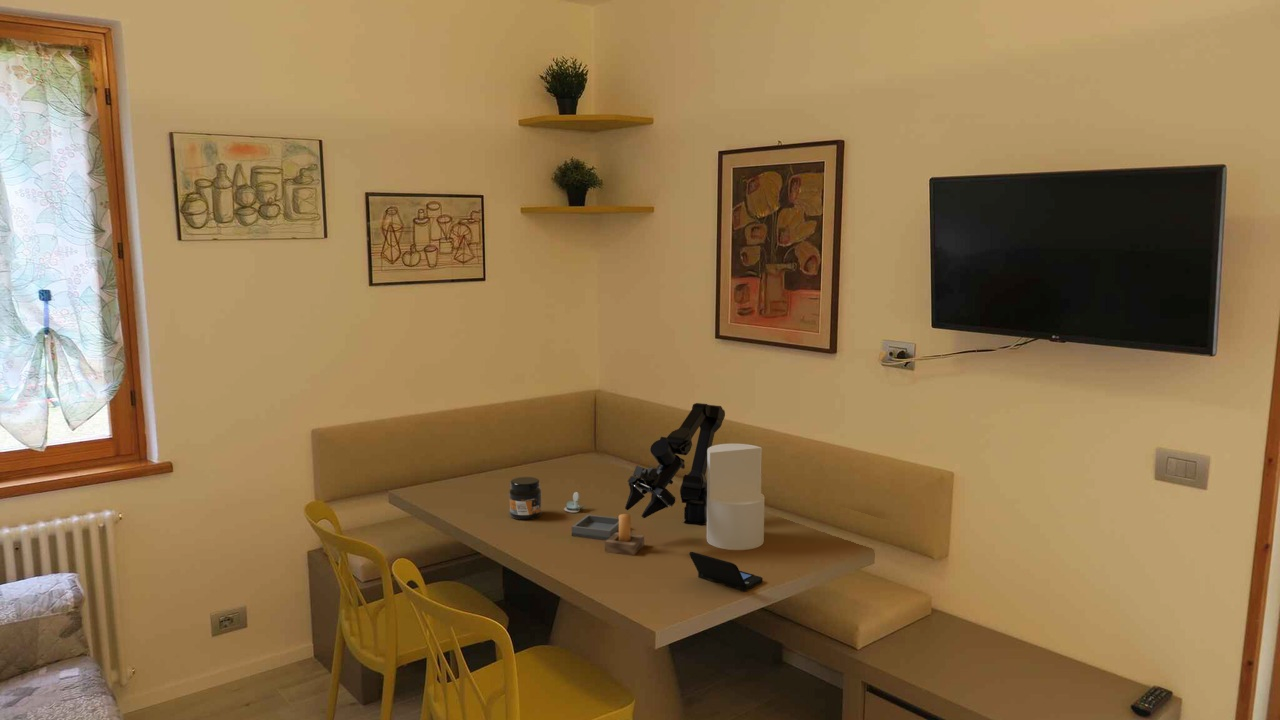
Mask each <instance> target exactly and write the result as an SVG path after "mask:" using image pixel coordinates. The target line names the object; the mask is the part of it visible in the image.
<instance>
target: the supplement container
mask: <svg viewBox="0 0 1280 720" xmlns="http://www.w3.org/2000/svg"><path fill="white" fill-rule="evenodd" d="M509 481H510V482H509V483H510V488H509V491H508V494H509V495H508V496H509V515H510V517H511V518H513V519H515V520H519V519H522V520H521V521H523V520H525V521H526V520H527V519H529V520H533V518H534V519H536V518H538V517H540V516H541V514H542V489H541V487H540V479H539V478H537V477H533V476H519V477H515V478H512V479H511V480H509ZM527 521H528V520H527Z"/></svg>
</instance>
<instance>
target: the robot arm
mask: <svg viewBox="0 0 1280 720" xmlns="http://www.w3.org/2000/svg"><path fill="white" fill-rule="evenodd" d="M725 417H726V412H725V409H724V408H723V407H722V406H721V405H715V404H707V403H701V402H696V403H693V404H692V407H691V410H690V411H689V413H688V414H687V416H686V418H685V419H684V420H683V422H682V423H681V424H680V426H679V428H677V429H675V430H673V431H671V432H670V433H669V434H668V435H667V436H666V437H665V436H660V438H659V439H658V440H655V441H654V442H653V443H652V444H651V446H650V453H651V455H652V456H653V457H654V459H655V460H656V462H657V463H658V465H657V467H653V466H652V467H651V466H649V467H648V469H647V468H645V467H642V466H640V465H636V466H635V468H634V471H633V474H632V475H631V476H630V477H629V478H628V480H627V483H628V486H629V489H630V491H629V496H628V498H627V501H626V504H625V507H624V508H625V510H626V511H629V510H630V509H631V508H633V507H634V506H636V504H638V503H639V502H640V501H641V500H642V499H643V498H645V497H646V496H645V495H646V494H648V493H649V494H651V495H650V497H651V499H650V501H649V502H648V505H647V506H646V507H645V509H644V511H643V512H642V514H641V517H642V518H643V519H646V518H648V517H649V516H651V515H653V514H655V513H657V512H658V511H662V510H664V509H667V508H669V507H671V508H672V507H673V506H674V504H675V503H676V496H674V495H673V494H672V493H671V491H670V490H668V489H667V486H668V485H672V484H673V483H674V481H673V479H674V477H675V476H676V475H677V473H678V472H679V470H684V469H685V467H686V465H685V461H686V460H685V459H684V458H681V456H687V455H688V454H689V453H690V451H691V450H692V446H693V442H692V439H693V437H694V436H695V434H696V432H697V431H698V429H700V430H699V433H698V437H697V443H696V446H695V451H694V457H693V460H692V465H691V469H690V471H689V473H687V474H684V475H683V477H682V483H681V486H680V489H679V495H680V499H681V503H682V504H685V506H684V510H683V511H684V515H683V517H684V522H683V523H684V524H689V525H699V526H700V525H701V526H704V525H705V524H707V449H708V448H709V447H711V446H713V443H714V437H715V434H716V432H717V431H718V430H719V429H720V428H721V426H722V425H723V422H724V419H725ZM679 455H680V456H679Z"/></svg>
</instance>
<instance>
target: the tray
mask: <svg viewBox="0 0 1280 720" xmlns="http://www.w3.org/2000/svg"><path fill="white" fill-rule="evenodd" d="M616 532H619V517H615V516H614V517H612V516H603V515H595V514H587V515H585V516H584V517H582V518H581V519H580V520H579V521H577V522H576V523H574V524H573V525H572V526H571V536H572V537H576V536H577V537H578V538H586V539H593V540H602V541H606V540H608V539H609V538H610V537H611V536H612V535H613V534H615V533H616Z"/></svg>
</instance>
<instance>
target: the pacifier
mask: <svg viewBox="0 0 1280 720" xmlns="http://www.w3.org/2000/svg"><path fill="white" fill-rule="evenodd" d="M580 497H581V495H580V493H579V492H577V491H575V492H573V494H572V500H569V501H567V502H566V507H564V508H563V510H564V511H565V512H567V513H571V514H575V513H578V512H580V511H581V509H583V508H586V505H579V500H580Z"/></svg>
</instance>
